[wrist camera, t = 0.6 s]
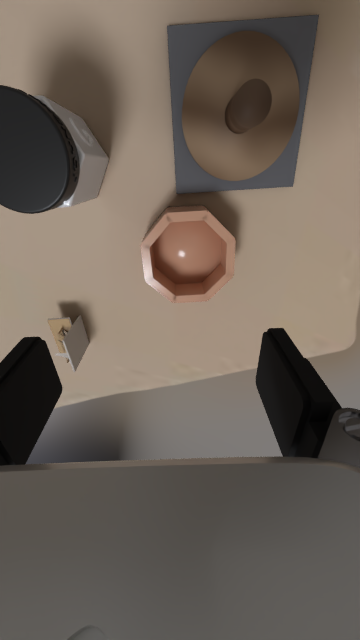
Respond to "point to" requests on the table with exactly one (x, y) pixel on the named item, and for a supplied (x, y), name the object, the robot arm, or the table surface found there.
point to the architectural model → (70, 339)
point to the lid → (240, 105)
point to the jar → (45, 155)
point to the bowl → (188, 254)
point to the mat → (183, 57)
